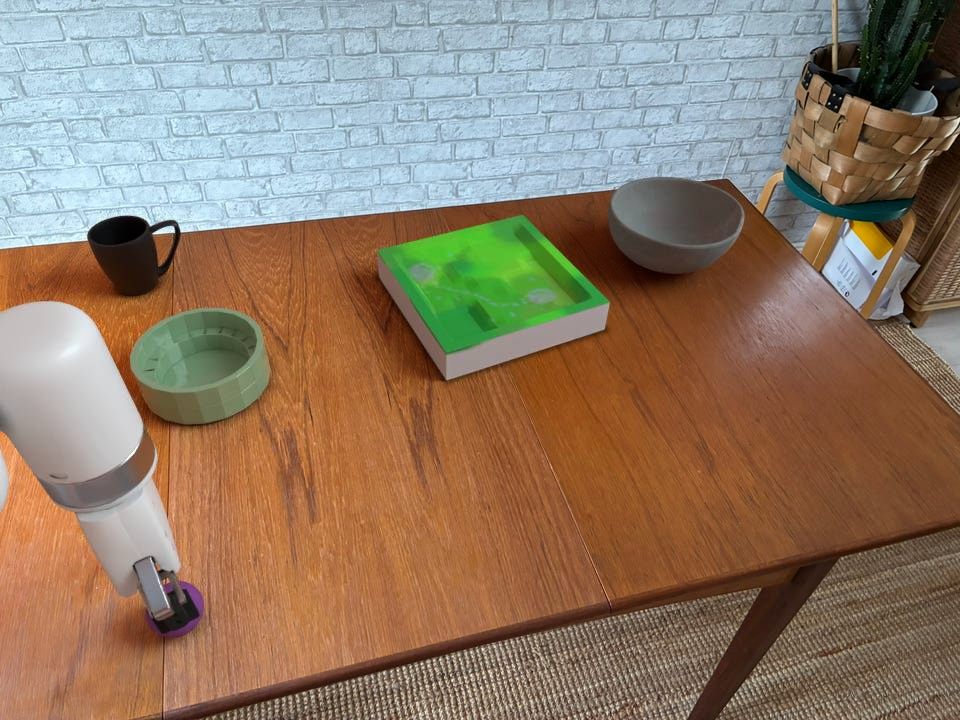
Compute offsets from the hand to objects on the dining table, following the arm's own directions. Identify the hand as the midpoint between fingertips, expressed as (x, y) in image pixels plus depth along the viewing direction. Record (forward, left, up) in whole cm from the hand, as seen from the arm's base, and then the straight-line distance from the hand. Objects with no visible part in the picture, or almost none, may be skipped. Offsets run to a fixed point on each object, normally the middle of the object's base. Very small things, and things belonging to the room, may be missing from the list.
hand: (166, 577), depth 63 cm
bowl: (+75, -42, -8) cm, 86 cm away
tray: (+56, -17, -8) cm, 58 cm away
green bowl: (+30, +14, -8) cm, 34 cm away
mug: (+47, +33, -8) cm, 58 cm away
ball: (0, 0, -8) cm, 8 cm away
